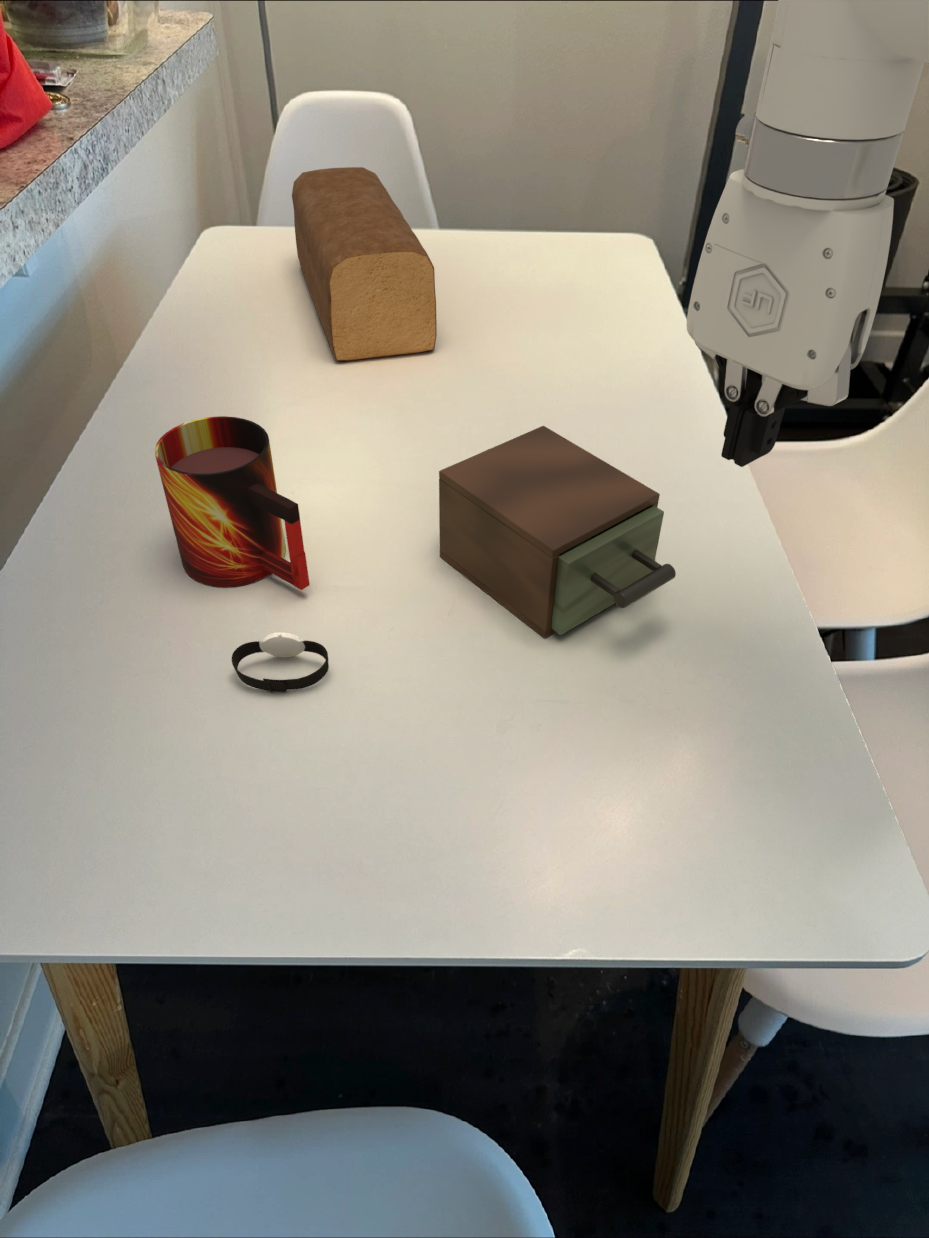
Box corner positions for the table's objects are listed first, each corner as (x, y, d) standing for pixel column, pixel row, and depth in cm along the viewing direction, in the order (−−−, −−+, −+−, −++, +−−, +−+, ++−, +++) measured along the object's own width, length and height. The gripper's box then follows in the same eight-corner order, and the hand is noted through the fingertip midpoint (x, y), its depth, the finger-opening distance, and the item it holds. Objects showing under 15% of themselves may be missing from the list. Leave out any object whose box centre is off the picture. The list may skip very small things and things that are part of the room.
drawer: (687, 605, 80) (703, 534, 75) (595, 663, 75) (606, 590, 70) (548, 514, 90) (554, 445, 85) (459, 558, 85) (460, 488, 80)
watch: (332, 654, 77) (328, 622, 74) (328, 695, 73) (324, 663, 71) (239, 655, 76) (233, 623, 74) (231, 697, 73) (223, 664, 70)
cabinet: (644, 580, 84) (660, 493, 78) (544, 639, 78) (553, 550, 72) (536, 508, 93) (543, 425, 86) (439, 556, 87) (438, 470, 80)
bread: (332, 366, 115) (321, 252, 106) (296, 266, 139) (285, 165, 130) (439, 353, 118) (438, 241, 108) (386, 257, 142) (381, 159, 133)
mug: (307, 601, 82) (292, 489, 74) (164, 579, 84) (133, 467, 76) (341, 537, 89) (330, 428, 81) (207, 518, 91) (184, 410, 83)
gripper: (665, 140, 51) (624, 428, 64) (908, 212, 43) (806, 528, 55) (749, 119, 55) (694, 395, 67) (988, 181, 46) (875, 485, 59)
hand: (744, 455), depth 61 cm, fingers closed
